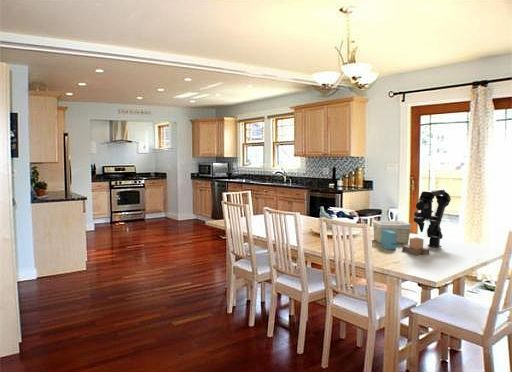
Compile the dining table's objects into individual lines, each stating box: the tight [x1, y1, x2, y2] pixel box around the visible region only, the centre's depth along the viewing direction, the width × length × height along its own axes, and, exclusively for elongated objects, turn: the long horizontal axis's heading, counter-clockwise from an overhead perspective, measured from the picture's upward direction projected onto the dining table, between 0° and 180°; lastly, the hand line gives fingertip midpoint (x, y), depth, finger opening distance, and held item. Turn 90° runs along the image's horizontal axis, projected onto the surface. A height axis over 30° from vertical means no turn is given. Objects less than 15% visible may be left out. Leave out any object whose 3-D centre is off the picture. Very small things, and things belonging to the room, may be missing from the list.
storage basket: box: [372, 220, 412, 244], centre depth 300 cm, size 24×16×15 cm
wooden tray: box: [401, 244, 430, 257], centre depth 267 cm, size 10×14×4 cm
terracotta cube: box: [408, 237, 424, 249], centre depth 266 cm, size 6×6×6 cm
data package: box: [380, 230, 398, 251], centre depth 279 cm, size 12×4×12 cm, turn 14°
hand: (426, 231), depth 276 cm, fingers open, 8 cm apart
